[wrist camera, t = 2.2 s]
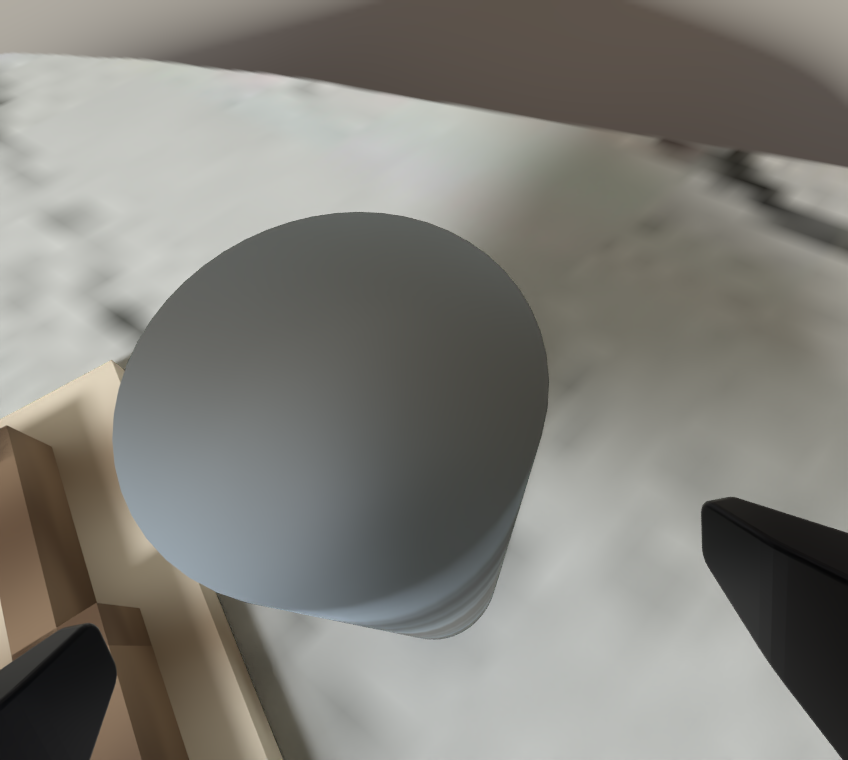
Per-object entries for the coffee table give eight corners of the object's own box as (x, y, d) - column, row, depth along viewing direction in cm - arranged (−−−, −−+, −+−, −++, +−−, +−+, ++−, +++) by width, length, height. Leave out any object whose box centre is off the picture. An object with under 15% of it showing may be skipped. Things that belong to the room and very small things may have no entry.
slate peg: (495, 645, 15) (554, 634, 4) (361, 632, 16) (37, 584, 4) (498, 509, 17) (544, 211, 5) (378, 501, 17) (189, 212, 6)
